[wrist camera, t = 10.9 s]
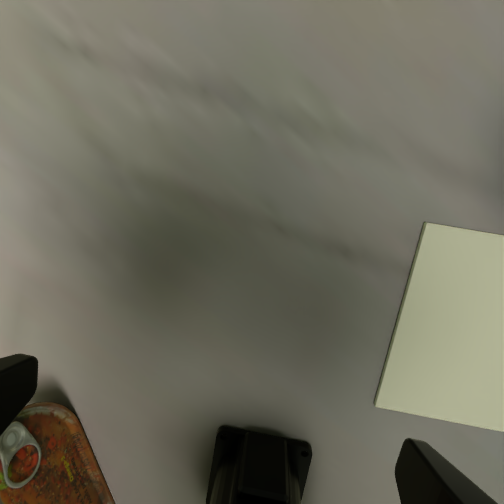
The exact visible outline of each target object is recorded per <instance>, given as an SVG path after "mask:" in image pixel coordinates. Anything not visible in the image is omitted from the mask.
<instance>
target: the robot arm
mask: <svg viewBox="0 0 504 504" xmlns="http://www.w3.org/2000/svg"><path fill="white" fill-rule="evenodd" d="M37 377H38V360H37V358H36V357H34V356H30V355H25V354H15V355H11V356H8V357H4V358H0V436H1V435H2V434H3V433H4V431H5V430H6V429H7V428H8V427H9V425H10V424H11V423H12V422H13V420H14V419H15V418H16V417H17V416H18V414H19V413H20V412H21V411H22V409H23V408H24V407H25V406H26V404H27V403H28V402H29V401H30V400H31V398H32V397H33V395H34V394H35V391H36V388H37ZM222 434H226V435H227V436H224V435H222ZM302 451H306V452H302ZM311 458H312V448H311V446H310V445H309V444H308V443H305V442H300V441H295V440H290V439H285V438H280V437H275V436H270V435H265V434H260V433H256V432H251V431H246V430H241V429H236V428H231V427H226V426H223V427H220V428H219V429H218V432H217V436H216V443H215V449H214V455H213V461H212V467H211V473H210V479H209V486H208V492H207V498H206V504H301V500H302V495H303V491H304V487H305V483H306V479H307V475H308V471H309V466H310V462H311ZM395 478H396V483H397V487H398V492H399V496H400V500H401V504H498V503H497V502H495V501H494V500H493V499H492V498H491V497H490V496H488V495H487V494H486V493H485V492H484V491H483V490H481V489H480V488H479V487H478V486H477V485H476V484H474V483H473V482H472V481H471V480H470V479H469V478H467V477H466V476H465V475H464V474H463V473H462V472H460V471H459V470H458V469H457V468H456V467H454V466H453V465H452V464H451V463H450V462H449V461H447V460H446V459H445V458H444V457H443V456H442V455H440V454H439V453H438V452H437V451H436V450H435V449H433V448H432V447H431V446H430V445H429V444H428V443H426V442H424V441H421V440H416V439H412V438H407V439H405V441H404V442H403V445H402V448H401V451H400V454H399V457H398V460H397V463H396V466H395Z"/></svg>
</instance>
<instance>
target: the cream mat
mask: <svg viewBox="0 0 504 504" xmlns="http://www.w3.org/2000/svg"><path fill="white" fill-rule="evenodd" d="M374 405H375V407H379V408H384V409H389V410H395V411H400V412H405V413H410V414H415V415H420V416H425V417H430V418H435V419H440V420H446V421H451V422H456V423H461V424H466V425H471V426H476V427H481V428H486V429H491V430H496V431H502V432H504V235H498V234H492V233H486V232H480V231H474V230H468V229H462V228H456V227H450V226H444V225H438V224H432V223H426V222H424V225H423V229H422V232H421V236H420V240H419V243H418V247H417V250H416V254H415V257H414V261H413V265H412V268H411V272H410V275H409V279H408V283H407V286H406V290H405V293H404V297H403V300H402V304H401V308H400V311H399V315H398V318H397V322H396V326H395V329H394V333H393V336H392V340H391V343H390V347H389V351H388V354H387V358H386V361H385V365H384V369H383V372H382V376H381V379H380V383H379V387H378V390H377V394H376V397H375V401H374Z"/></svg>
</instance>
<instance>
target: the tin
mask: <svg viewBox="0 0 504 504" xmlns="http://www.w3.org/2000/svg"><path fill="white" fill-rule="evenodd" d="M0 504H115V502H114V500H113V497H112V495H111V493H110V491H109V488H108V486H107V484H106V482H105V480H104V477H103V475H102V473H101V470H100V468H99V466H98V464H97V461H96V459H95V457H94V454H93V452H92V449H91V447H90V445H89V442H88V440H87V438H86V436H85V433H84V431H83V428H82V426H81V424H80V422H79V420H78V419H77V417H76V416H75V415H74V414H73V413H72V412H71V411H70V410H69V409H68V408H66V407H65V406H63V405H60V404H57V403H53V402H39V403H34V404H31V405H27V406H25V407H24V408H23V409H22V411H21V412H20V413H19V414H18V416H17V417H16V418H15V419H14V420H13V422H12V423H11V424H10V425H9V427H8V428H7V429H6V430H5V431H4V433H3V434H2V435H1V436H0Z"/></svg>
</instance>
